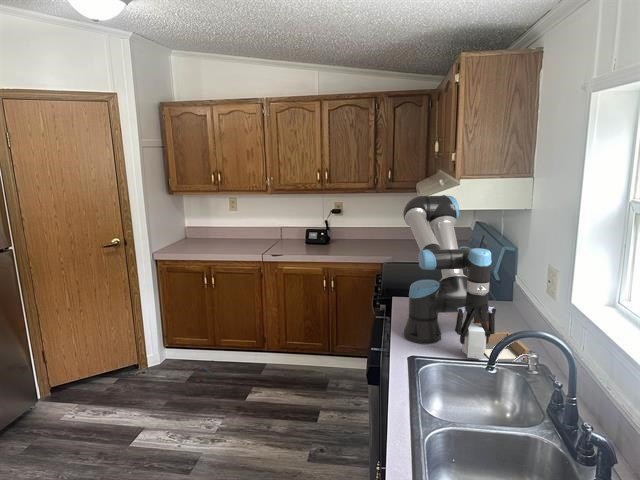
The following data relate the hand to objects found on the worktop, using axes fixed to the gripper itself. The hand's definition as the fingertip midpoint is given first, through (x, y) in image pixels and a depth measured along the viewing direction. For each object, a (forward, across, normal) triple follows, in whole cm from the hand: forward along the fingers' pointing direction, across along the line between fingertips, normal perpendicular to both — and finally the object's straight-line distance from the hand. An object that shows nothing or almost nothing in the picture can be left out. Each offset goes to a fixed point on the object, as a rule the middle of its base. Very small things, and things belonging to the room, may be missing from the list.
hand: (473, 351), depth 157 cm
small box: (+1, 0, 0) cm, 1 cm away
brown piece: (+2, +12, +3) cm, 12 cm away
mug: (+3, +12, +21) cm, 25 cm away
